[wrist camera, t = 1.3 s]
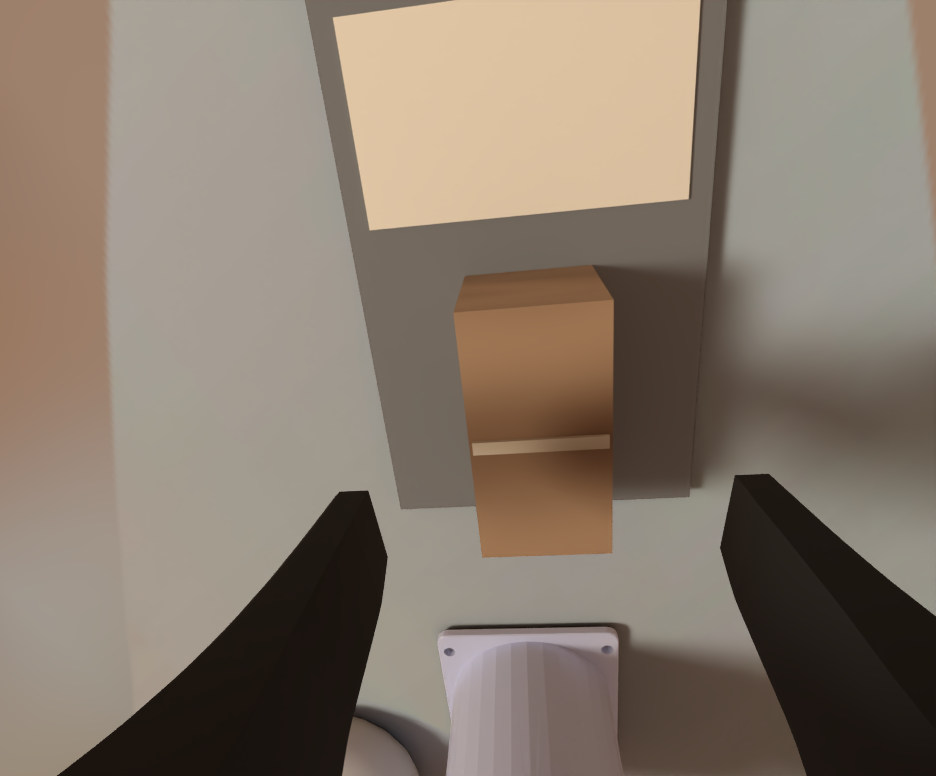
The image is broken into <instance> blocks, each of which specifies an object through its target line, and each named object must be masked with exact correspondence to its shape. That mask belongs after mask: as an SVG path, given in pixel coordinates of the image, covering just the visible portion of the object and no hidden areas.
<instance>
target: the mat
mask: <svg viewBox="0 0 936 776" xmlns="http://www.w3.org/2000/svg"><path fill="white" fill-rule="evenodd" d="M305 3H306V8H307V14H308V19H309V24H310V30H311V35H312V40H313V45H314V51H315V56H316V61H317V67H318V72H319V77H320V83H321V88H322V93H323V99H324V104H325V109H326V114H327V120H328V125H329V130H330V136H331V141H332V146H333V152H334V157H335V162H336V167H337V173H338V178H339V183H340V189H341V194H342V199H343V205H344V210H345V215H346V220H347V226H348V231H349V236H350V242H351V247H352V252H353V258H354V263H355V268H356V273H357V279H358V284H359V289H360V295H361V300H362V305H363V311H364V316H365V321H366V326H367V332H368V337H369V342H370V348H371V353H372V358H373V364H374V369H375V374H376V379H377V385H378V390H379V395H380V401H381V406H382V411H383V417H384V422H385V427H386V433H387V438H388V443H389V448H390V454H391V459H392V464H393V470H394V475H395V480H396V486H397V491H398V496H399V501H400V507H401V509H419V508H442V507H465V506H476V500H475V492H474V483H473V475H472V466H471V458H470V449H469V441H468V433H467V424H466V416H465V407H464V399H463V391H462V382H461V374H460V365H459V357H458V349H457V340H456V332H455V323H454V315H453V312H454V309H455V306H456V302H457V299H458V296H459V293H460V290H461V286H462V283H463V280H464V277H465V276H469V275H481V274H492V273H504V272H515V271H526V270H538V269H549V268H561V267H572V266H583V265H592V266H593V268H594V269H595V271H596V272H597V274H598V276H599V277H600V279H601V280H602V282H603V284H604V285H605V287H606V288H607V290H608V291H609V293H610V295H611V296H612V298H613V299H614V333H613V491H612V500H628V499H651V498H675V497H689V495H690V482H691V469H692V456H693V442H694V429H695V416H696V403H697V390H698V377H699V364H700V351H701V338H702V325H703V312H704V299H705V285H706V272H707V259H708V246H709V233H710V220H711V207H712V194H713V181H714V168H715V155H716V142H717V128H718V115H719V102H720V89H721V76H722V63H723V50H724V37H725V24H726V11H727V0H305Z"/></svg>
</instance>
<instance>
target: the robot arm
mask: <svg viewBox="0 0 936 776" xmlns="http://www.w3.org/2000/svg"><path fill="white" fill-rule="evenodd" d="M720 549H721V553H722V556H723V560H724V563H725V567H726V570H727V574H728V577H729V581H730V584H731V587H732V591H733V594H734V597H735V600H736V602H737V605H738V607H739V610H740V612H741V614H742V617H743V619H744V621H745V624H746V626H747V628H748V631H749V633H750V636H751V638H752V640H753V643H754V645H755V647H756V649H757V652H758V654H759V656H760V659H761V661H762V663H763V666H764V668H765V670H766V673H767V675H768V677H769V679H770V682H771V684H772V686H773V689H774V691H775V693H776V696H777V698H778V700H779V703H780V705H781V707H782V710H783V712H784V714H785V716H786V719H787V721H788V724H789V727H790V729H791V732H792V734H793V737H794V740H795V742H796V745H797V747H798V750H799V753H800V757H801V760H802V763H803V766H804V769H805V772H806V775H807V776H936V616H935V615H933V614H932V613H931V612H929V611H928V610H927V609H926V608H924V607H923V606H922V605H920V604H919V603H918V602H917V601H915V600H914V599H913V598H912V597H910V596H909V595H908V594H906V593H905V592H904V591H903V590H901V589H900V588H899V587H897V586H896V585H895V584H894V583H892V582H891V581H890V580H889V579H888V578H886V577H885V576H884V575H883V574H881V573H880V572H879V571H878V570H877V569H875V568H874V567H873V566H872V565H871V564H870V563H868V562H867V561H866V560H865V559H864V558H862V557H861V556H860V555H859V554H858V553H857V552H855V551H854V550H853V549H852V548H851V547H850V546H848V545H847V544H846V543H845V542H844V541H843V540H842V539H840V538H839V537H838V536H837V535H836V534H835V533H834V532H832V531H831V530H830V529H829V528H828V527H827V526H826V525H825V524H824V523H822V522H821V521H820V520H819V519H818V518H817V517H816V516H815V515H814V514H812V513H811V512H810V511H809V510H808V509H807V508H806V507H805V506H804V505H803V504H801V503H800V502H799V501H798V500H797V499H796V498H795V497H794V496H793V495H792V494H790V493H789V492H788V491H787V490H786V489H785V488H784V487H783V486H782V485H781V484H779V483H778V482H777V481H776V480H775V479H774V478H773V477H772V476H771V475H769V474H755V475H735V478H734V482H733V487H732V492H731V497H730V502H729V507H728V512H727V517H726V522H725V527H724V531H723V536H722V541H721V546H720ZM387 558H388V557H387V553H386V550H385V546H384V543H383V540H382V536H381V533H380V529H379V526H378V522H377V519H376V516H375V512H374V509H373V505H372V502H371V498H370V495H369V492H368V491H346V492H339V493H338V494H337V495H336V496H335V498H334V499H333V500H332V502H331V503H330V504H329V505H328V507H327V508H326V509H325V511H324V512H323V513H322V515H321V516H320V517H319V518H318V520H317V521H316V522H315V524H314V525H313V526H312V528H311V529H310V530H309V531H308V533H307V534H306V535H305V537H304V538H303V539H302V540H301V542H300V543H299V544H298V545H297V547H296V548H295V549H294V550H293V552H292V553H291V554H290V555H289V557H288V558H287V559H286V560H285V561H284V563H283V564H282V565H281V566H280V568H279V569H278V570H277V571H276V572H275V574H274V575H273V576H272V577H271V579H270V580H269V581H268V582H267V583H266V584H265V586H264V587H263V588H262V589H261V590H260V591H259V592H258V593H257V595H256V596H255V597H254V598H253V599H252V600H251V601H250V602H249V604H248V605H247V606H246V607H245V608H244V609H243V610H242V611H241V613H240V614H239V615H238V616H237V617H236V618H235V619H234V620H233V621H232V622H231V623H230V625H229V626H228V627H227V628H226V629H225V630H224V631H223V632H222V633H221V634H220V635H219V636H218V637H217V638H216V639H215V640H214V641H213V642H212V643H211V644H210V645H209V646H208V647H207V648H206V649H205V650H204V651H203V652H202V653H201V654H200V655H199V656H198V657H197V658H196V659H195V660H194V661H193V662H192V663H191V664H190V665H189V666H188V667H187V668H186V669H185V670H183V671H182V672H181V673H180V674H179V675H178V676H177V677H176V678H175V679H174V680H172V681H171V682H170V683H169V684H168V685H167V686H166V687H165V688H164V689H162V690H161V691H160V692H159V693H158V694H157V695H156V696H154V697H153V698H152V699H151V700H150V701H149V702H148V703H146V704H145V705H144V706H143V707H142V708H141V709H140V710H138V711H137V712H136V713H135V714H134V715H133V716H132V717H131V718H129V719H128V720H127V721H126V722H125V723H123V725H121V726H120V727H118V728H117V729H116V730H115V731H114V732H112V733H111V734H110V735H109V736H107V737H106V738H105V739H104V740H102V741H101V742H100V743H99V744H97V745H96V746H95V747H94V748H92V749H91V750H90V751H89V752H87V753H86V754H85V755H83V756H82V757H81V758H79V759H78V760H77V761H76V762H74V763H73V764H72V765H71V766H69V767H68V768H67V769H65V770H64V771H63V772H61V773H60V774H59V775H57V776H342V773H343V767H344V761H345V755H346V749H347V743H348V738H349V733H350V728H351V724H352V719H353V715H354V711H355V707H356V703H357V699H358V695H359V691H360V687H361V683H362V679H363V676H364V672H365V668H366V664H367V660H368V656H369V652H370V648H371V644H372V640H373V636H374V632H375V628H376V624H377V620H378V616H379V612H380V608H381V603H382V596H383V589H384V582H385V574H386V566H387ZM449 648H452V649H449ZM438 649H439V654H440V660H441V666H442V671H443V677H444V683H445V688H446V694H447V700H448V705H449V711H450V717H451V731H450V741H449V751H448V761H447V771H446V776H624V774H623V768H622V763H621V757H620V752H619V746H618V740H617V731H618V660H619V639H618V635H617V632H616V631H615V629H613V628H611V627H567V628H515V629H463V630H444V631H442V632H440V634H439V636H438Z"/></svg>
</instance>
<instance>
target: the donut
mask: <svg viewBox="0 0 936 776" xmlns="http://www.w3.org/2000/svg"><path fill="white" fill-rule="evenodd" d="M342 776H419V774H418V771H417V768H416V766H415V764H414V763H413V761H412V759H411V757H410V755H409V754H408V752H407V750H406V749H405V748H404V747H403V746H402V745H401V744H400V743H399V742H398V741H397V740H396V739H394V738H393V737H392V736H391V735H390V734H389V733H388V732H387V731H385V730H383V729H381V728H379V727H378V726H376V725H374V724H372V723H370V722H368V721H366V720H364V719H361V718H357V717H353V719H352V724H351V728H350V733H349V738H348V743H347V749H346V755H345V761H344V767H343V773H342Z"/></svg>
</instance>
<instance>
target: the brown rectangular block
mask: <svg viewBox="0 0 936 776" xmlns="http://www.w3.org/2000/svg"><path fill="white" fill-rule="evenodd" d="M453 315H454V323H455V332H456V340H457V349H458V357H459V365H460V374H461V382H462V391H463V399H464V407H465V416H466V424H467V433H468V441H469V449H470V458H471V466H472V475H473V483H474V492H475V500H476V508H477V517H478V525H479V534H480V542H481V550H482V557H512V556H543V555H573V554H603V553H612V491H613V333H614V299H613V298H612V296H611V295H610V293H609V291H608V290H607V288H606V287H605V285H604V284H603V282H602V280H601V279H600V277H599V276H598V274H597V272H596V271H595V269H594V268H593V266H592V265H583V266H572V267H561V268H549V269H538V270H526V271H515V272H504V273H492V274H481V275H469V276H465V277H464V280H463V283H462V286H461V290H460V293H459V296H458V299H457V302H456V306H455V309H454V312H453Z"/></svg>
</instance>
